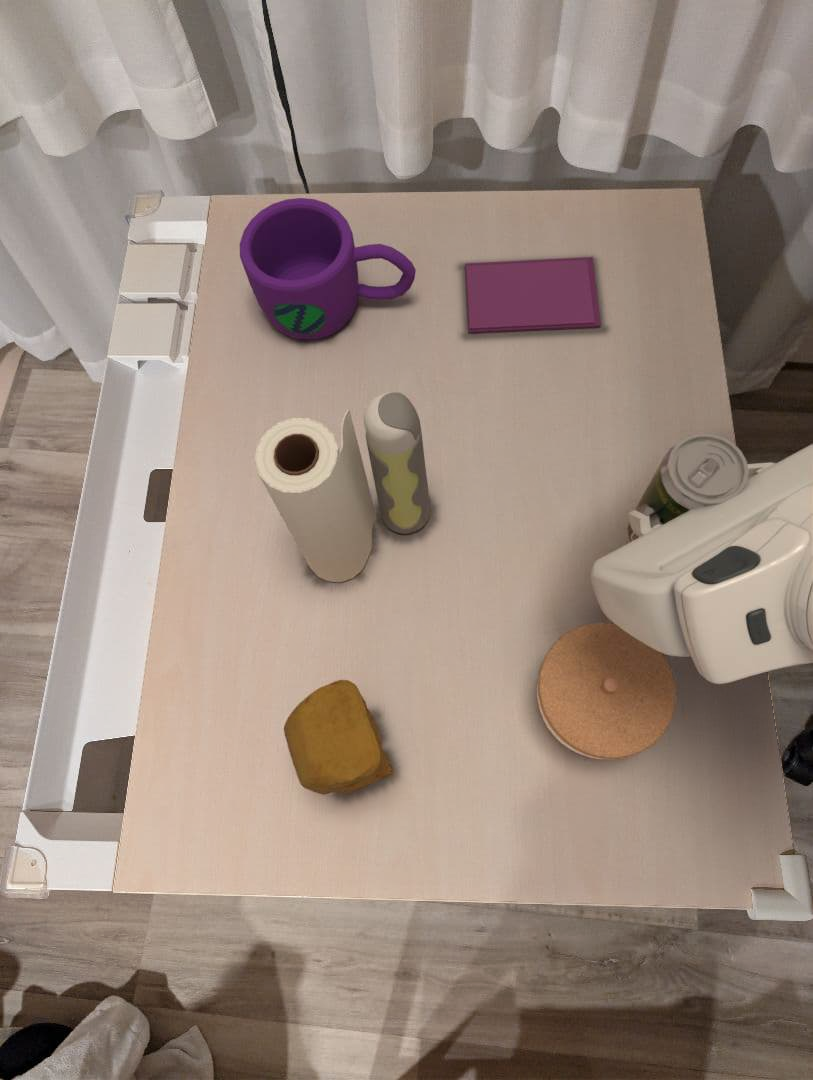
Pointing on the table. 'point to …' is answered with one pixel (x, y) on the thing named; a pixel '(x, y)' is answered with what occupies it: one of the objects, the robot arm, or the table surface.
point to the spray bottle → (397, 461)
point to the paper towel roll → (320, 493)
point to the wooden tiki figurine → (335, 741)
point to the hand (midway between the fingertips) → (677, 496)
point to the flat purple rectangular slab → (531, 295)
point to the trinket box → (605, 692)
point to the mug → (311, 267)
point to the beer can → (695, 477)
